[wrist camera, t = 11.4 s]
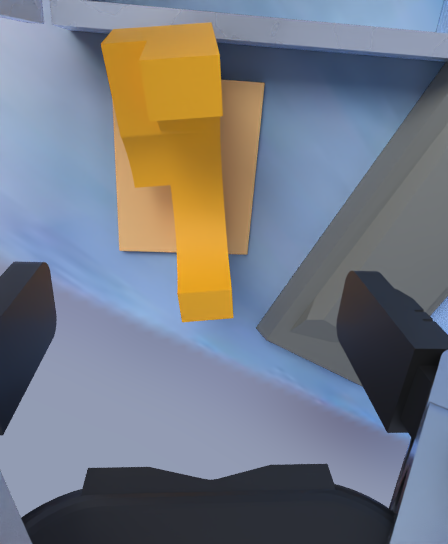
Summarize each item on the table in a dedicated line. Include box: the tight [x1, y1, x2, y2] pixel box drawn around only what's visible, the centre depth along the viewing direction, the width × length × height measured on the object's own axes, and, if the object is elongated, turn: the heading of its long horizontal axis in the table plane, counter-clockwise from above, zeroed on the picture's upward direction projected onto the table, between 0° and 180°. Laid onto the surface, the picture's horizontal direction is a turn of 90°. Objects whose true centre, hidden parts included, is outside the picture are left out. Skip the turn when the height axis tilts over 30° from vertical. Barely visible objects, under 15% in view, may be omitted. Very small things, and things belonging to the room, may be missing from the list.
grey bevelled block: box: [256, 62, 448, 387], centre depth 26 cm, size 10×20×4 cm, turn 150°
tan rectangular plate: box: [113, 79, 265, 255], centre depth 24 cm, size 8×10×1 cm
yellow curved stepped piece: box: [101, 22, 233, 322], centre depth 19 cm, size 12×4×6 cm, turn 4°
